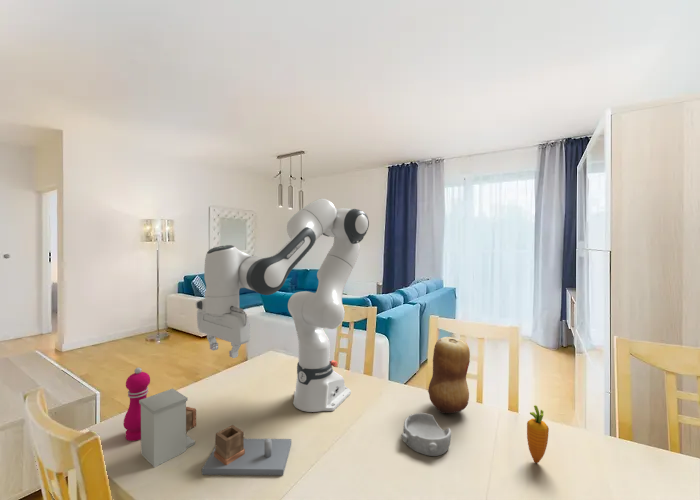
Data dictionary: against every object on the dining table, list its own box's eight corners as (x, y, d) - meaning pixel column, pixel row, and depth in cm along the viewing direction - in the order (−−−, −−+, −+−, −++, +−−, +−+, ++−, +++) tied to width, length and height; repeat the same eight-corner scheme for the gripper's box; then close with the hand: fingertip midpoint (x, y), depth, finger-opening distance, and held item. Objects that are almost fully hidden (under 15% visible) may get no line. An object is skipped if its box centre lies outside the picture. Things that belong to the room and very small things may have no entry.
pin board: (220, 443, 91) (220, 424, 91) (291, 444, 92) (291, 425, 92) (202, 474, 79) (202, 452, 79) (283, 475, 80) (283, 453, 80)
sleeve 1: (181, 422, 101) (181, 405, 101) (196, 425, 100) (196, 408, 100) (165, 433, 96) (165, 415, 95) (180, 436, 94) (180, 419, 94)
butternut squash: (468, 425, 103) (471, 348, 102) (425, 416, 107) (427, 342, 106) (468, 404, 116) (470, 335, 115) (430, 397, 120) (432, 331, 119)
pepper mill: (138, 444, 90) (138, 374, 90) (117, 440, 92) (116, 371, 91) (158, 429, 98) (158, 364, 97) (138, 425, 99) (138, 361, 98)
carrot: (546, 472, 83) (549, 415, 82) (524, 464, 85) (527, 409, 85) (547, 461, 87) (549, 406, 86) (526, 454, 89) (528, 401, 89)
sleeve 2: (232, 445, 88) (232, 423, 88) (245, 453, 85) (245, 431, 85) (213, 456, 84) (213, 433, 84) (225, 465, 81) (226, 442, 80)
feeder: (182, 434, 95) (182, 385, 95) (197, 445, 90) (197, 394, 90) (139, 454, 86) (139, 400, 86) (153, 468, 81) (153, 411, 81)
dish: (419, 422, 104) (419, 407, 104) (459, 442, 94) (460, 426, 94) (391, 441, 94) (391, 425, 94) (433, 466, 84) (434, 448, 84)
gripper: (256, 307, 86) (256, 358, 86) (212, 297, 98) (213, 342, 98) (235, 312, 81) (236, 366, 81) (192, 301, 92) (193, 348, 93)
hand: (223, 353), depth 90 cm, fingers open, 8 cm apart
